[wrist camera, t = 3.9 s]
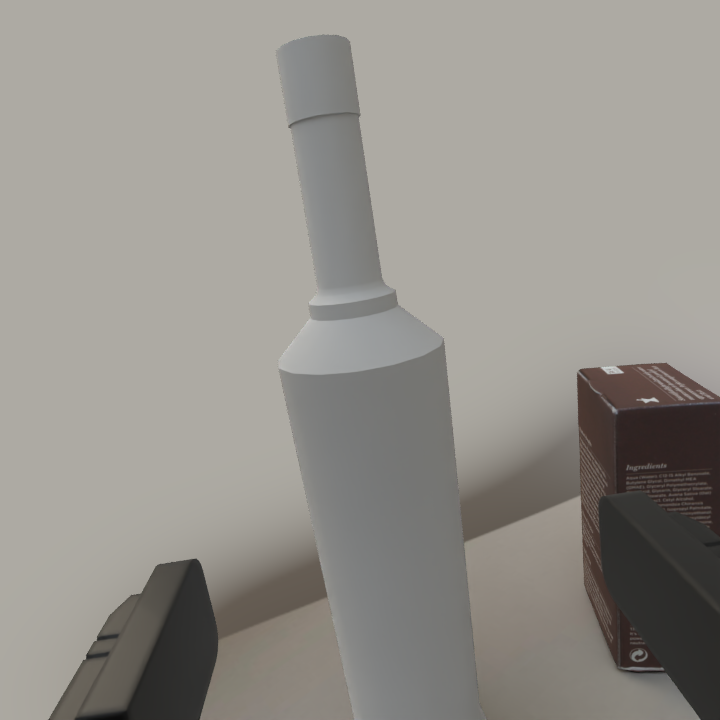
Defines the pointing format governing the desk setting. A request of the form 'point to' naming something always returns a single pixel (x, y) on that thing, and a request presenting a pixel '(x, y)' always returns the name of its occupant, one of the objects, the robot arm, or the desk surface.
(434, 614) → the bottle
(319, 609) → the desk surface
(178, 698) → the robot arm
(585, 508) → the box
